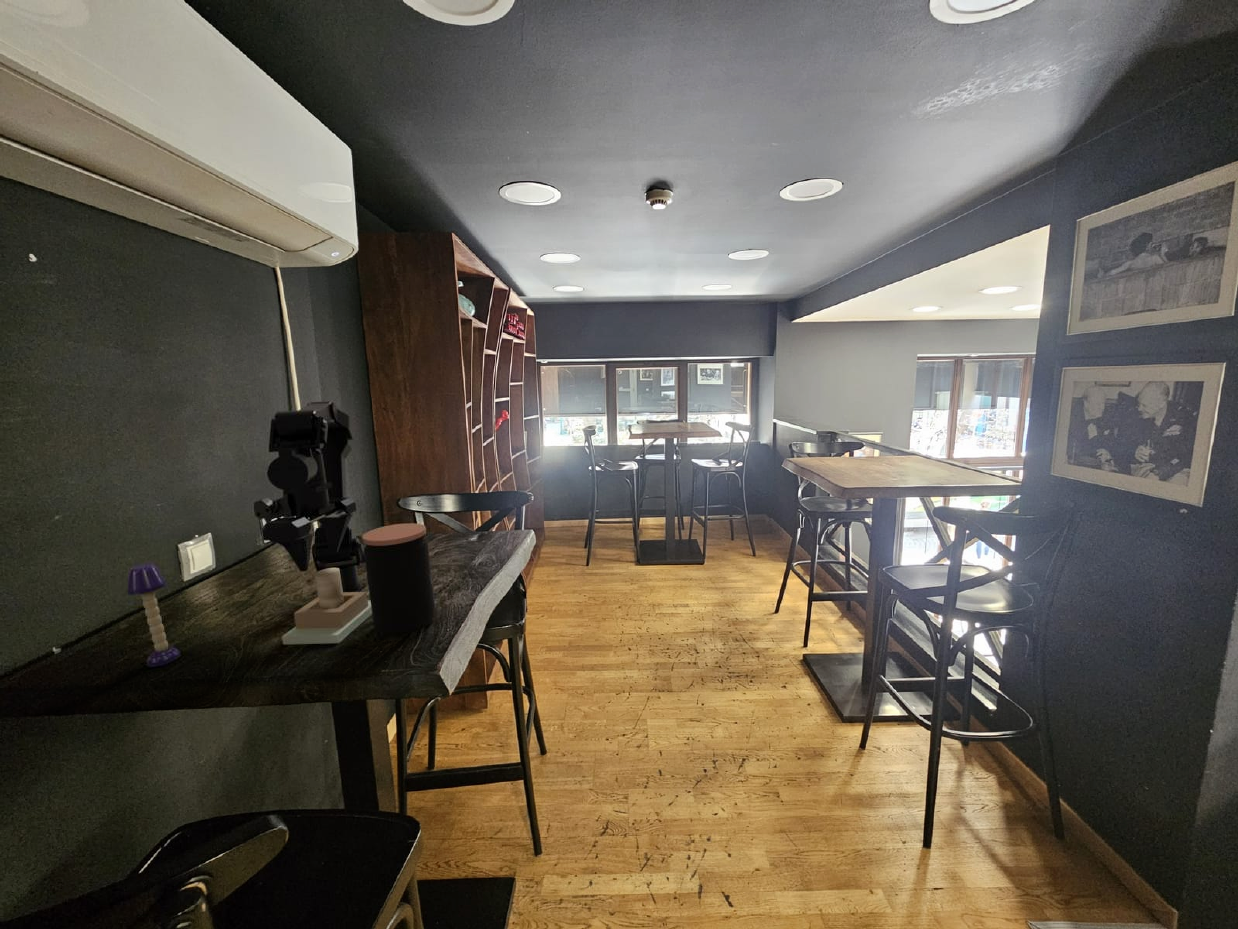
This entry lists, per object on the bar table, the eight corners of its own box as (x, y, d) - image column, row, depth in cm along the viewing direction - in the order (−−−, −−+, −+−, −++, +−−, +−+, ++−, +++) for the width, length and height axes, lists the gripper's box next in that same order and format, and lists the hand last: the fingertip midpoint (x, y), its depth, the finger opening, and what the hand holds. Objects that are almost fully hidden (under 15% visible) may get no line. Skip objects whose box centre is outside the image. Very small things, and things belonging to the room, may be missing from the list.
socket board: (331, 608, 100) (328, 587, 99) (379, 607, 99) (377, 586, 99) (283, 644, 86) (279, 620, 85) (338, 643, 86) (335, 619, 85)
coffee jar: (448, 617, 94) (438, 526, 91) (398, 644, 84) (386, 544, 82) (412, 606, 99) (401, 520, 96) (362, 630, 90) (348, 536, 87)
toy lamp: (136, 670, 80) (114, 573, 77) (154, 655, 84) (134, 563, 82) (172, 664, 81) (151, 568, 78) (187, 650, 86) (169, 559, 83)
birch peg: (330, 612, 95) (323, 568, 93) (350, 611, 94) (343, 567, 93) (316, 622, 91) (309, 576, 89) (337, 621, 90) (331, 575, 89)
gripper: (297, 472, 98) (309, 546, 101) (221, 493, 80) (238, 583, 82) (352, 469, 98) (362, 544, 100) (289, 490, 79) (303, 581, 82)
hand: (319, 561), depth 91 cm, fingers open, 9 cm apart
